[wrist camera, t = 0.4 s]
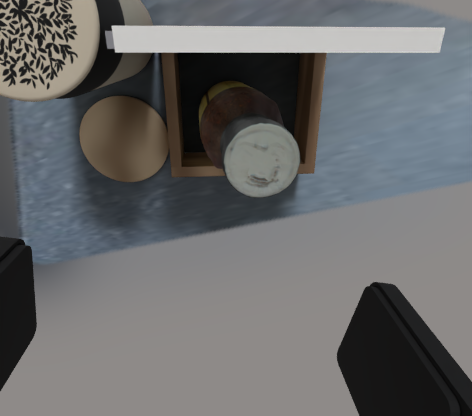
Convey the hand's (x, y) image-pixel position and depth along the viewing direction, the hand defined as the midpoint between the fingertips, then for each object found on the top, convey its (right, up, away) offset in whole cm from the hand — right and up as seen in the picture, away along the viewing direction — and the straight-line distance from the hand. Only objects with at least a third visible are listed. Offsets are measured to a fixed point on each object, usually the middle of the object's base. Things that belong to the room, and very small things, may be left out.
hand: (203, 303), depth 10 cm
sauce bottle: (0, +13, +26) cm, 29 cm away
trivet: (-11, +10, +26) cm, 30 cm away
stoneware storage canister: (-11, +19, +22) cm, 31 cm away
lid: (+1, +18, +23) cm, 29 cm away
